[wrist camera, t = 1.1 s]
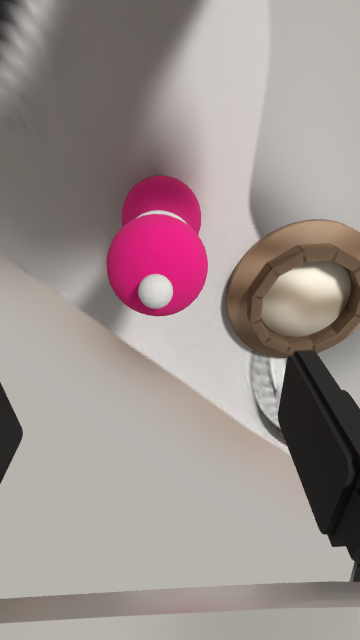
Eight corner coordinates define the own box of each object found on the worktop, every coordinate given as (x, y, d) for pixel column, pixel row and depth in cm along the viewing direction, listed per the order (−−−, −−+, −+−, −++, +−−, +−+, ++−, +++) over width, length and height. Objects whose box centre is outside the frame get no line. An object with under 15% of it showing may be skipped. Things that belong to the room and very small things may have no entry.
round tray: (229, 224, 33) (234, 232, 30) (397, 214, 33) (417, 222, 30) (224, 356, 42) (228, 371, 40) (354, 348, 42) (367, 363, 40)
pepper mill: (181, 252, 34) (193, 372, 17) (119, 228, 33) (65, 334, 16) (208, 187, 31) (256, 259, 14) (140, 157, 29) (100, 196, 12)
